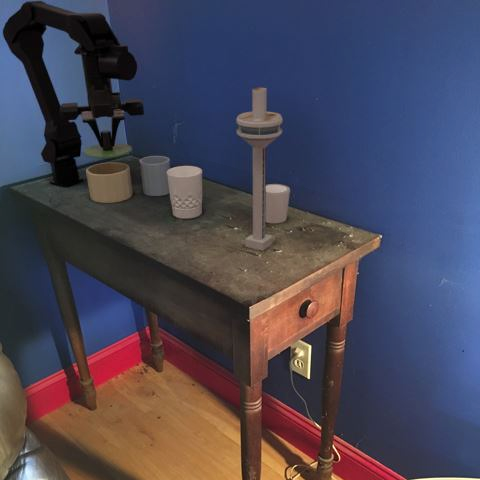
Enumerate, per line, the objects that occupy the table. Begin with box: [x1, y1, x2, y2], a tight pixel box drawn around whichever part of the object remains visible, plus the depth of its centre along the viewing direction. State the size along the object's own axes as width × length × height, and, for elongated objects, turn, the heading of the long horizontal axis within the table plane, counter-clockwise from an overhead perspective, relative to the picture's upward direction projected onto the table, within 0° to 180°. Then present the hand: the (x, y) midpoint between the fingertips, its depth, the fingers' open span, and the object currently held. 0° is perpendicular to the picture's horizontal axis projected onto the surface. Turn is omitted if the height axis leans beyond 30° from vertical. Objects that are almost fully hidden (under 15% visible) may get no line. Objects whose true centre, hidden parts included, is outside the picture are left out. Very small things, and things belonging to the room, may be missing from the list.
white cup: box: [167, 165, 203, 220], centre depth 128 cm, size 8×8×10 cm
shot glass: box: [265, 183, 291, 224], centre depth 125 cm, size 7×7×7 cm
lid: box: [83, 129, 133, 160], centre depth 135 cm, size 11×11×5 cm
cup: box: [138, 155, 172, 197], centre depth 142 cm, size 7×7×8 cm
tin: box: [85, 161, 133, 204], centre depth 140 cm, size 10×10×7 cm
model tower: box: [236, 87, 283, 252], centre depth 107 cm, size 8×8×30 cm
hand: (107, 146), depth 135 cm, fingers closed on lid, 2 cm apart
